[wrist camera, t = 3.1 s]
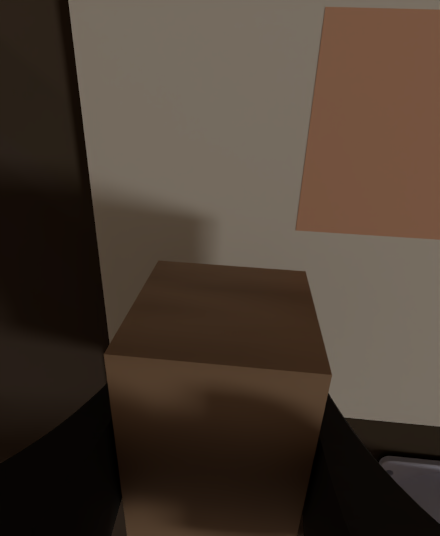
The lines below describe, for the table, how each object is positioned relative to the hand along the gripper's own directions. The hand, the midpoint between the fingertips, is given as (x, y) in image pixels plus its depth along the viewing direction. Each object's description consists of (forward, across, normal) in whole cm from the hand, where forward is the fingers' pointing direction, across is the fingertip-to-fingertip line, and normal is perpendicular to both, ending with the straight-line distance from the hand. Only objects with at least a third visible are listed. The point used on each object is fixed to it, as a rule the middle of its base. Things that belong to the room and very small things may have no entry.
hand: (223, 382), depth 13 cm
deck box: (+1, 0, 0) cm, 1 cm away
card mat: (+5, -3, -4) cm, 7 cm away
